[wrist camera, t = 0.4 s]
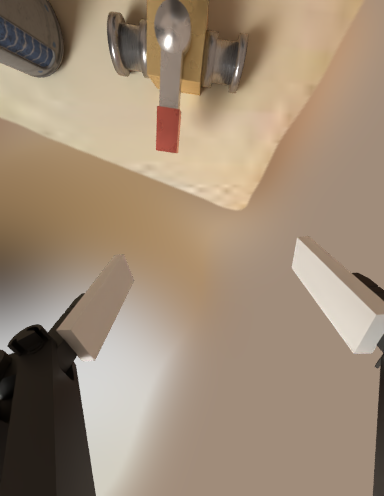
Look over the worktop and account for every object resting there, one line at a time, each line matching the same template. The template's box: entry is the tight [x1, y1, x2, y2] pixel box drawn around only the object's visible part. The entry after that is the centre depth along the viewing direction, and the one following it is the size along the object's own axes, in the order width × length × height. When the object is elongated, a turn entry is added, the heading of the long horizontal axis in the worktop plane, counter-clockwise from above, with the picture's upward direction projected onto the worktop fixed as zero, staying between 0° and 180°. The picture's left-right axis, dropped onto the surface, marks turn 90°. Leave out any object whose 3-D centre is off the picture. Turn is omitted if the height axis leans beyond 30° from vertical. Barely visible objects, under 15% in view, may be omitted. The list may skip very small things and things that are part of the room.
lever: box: [154, 0, 192, 153], centre depth 22 cm, size 14×4×2 cm, turn 173°
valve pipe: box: [107, 0, 248, 95], centre depth 25 cm, size 18×7×8 cm, turn 83°
